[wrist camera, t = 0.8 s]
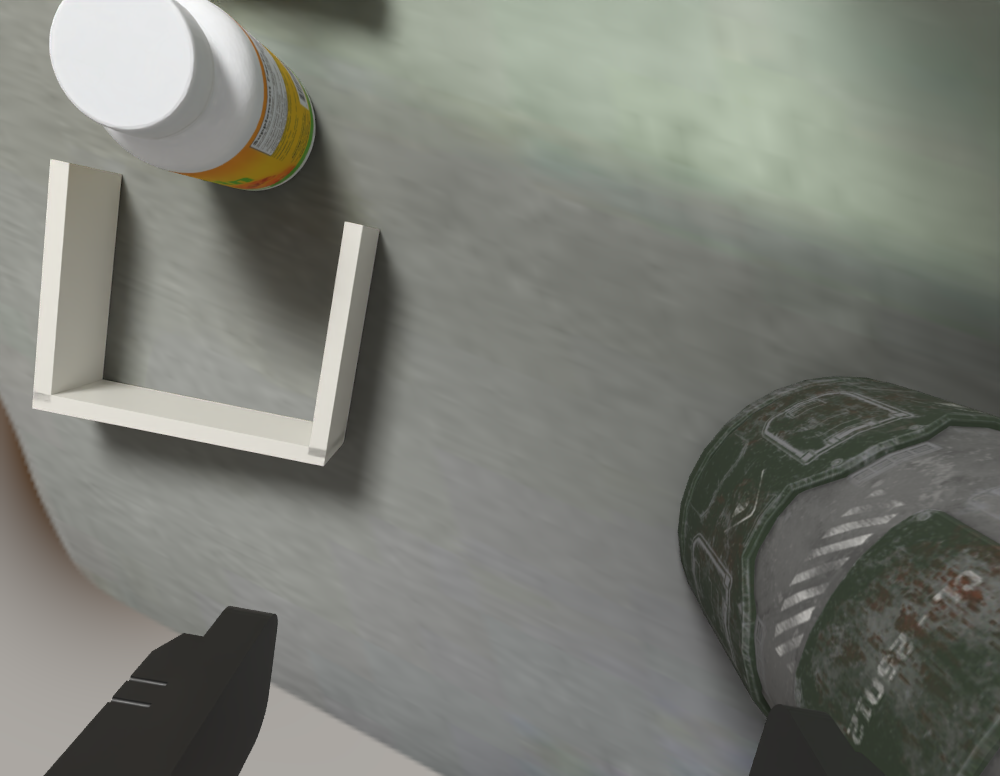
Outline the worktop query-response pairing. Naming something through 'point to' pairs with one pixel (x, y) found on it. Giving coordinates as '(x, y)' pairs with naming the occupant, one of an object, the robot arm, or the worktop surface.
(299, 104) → the supplement bottle
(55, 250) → the box
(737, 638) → the canister
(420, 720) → the worktop surface
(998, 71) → the worktop surface
